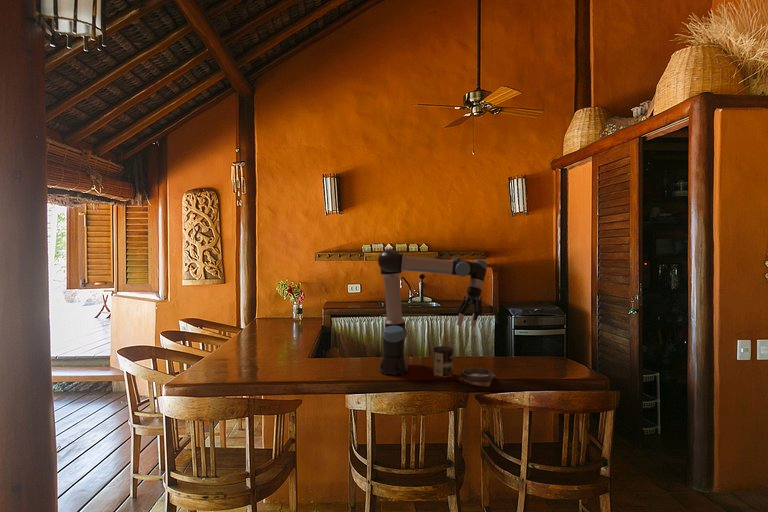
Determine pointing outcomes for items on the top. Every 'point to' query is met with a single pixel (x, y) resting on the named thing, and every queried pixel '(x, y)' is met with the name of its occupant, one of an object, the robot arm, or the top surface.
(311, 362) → the top surface
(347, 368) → the top surface
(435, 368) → the coffee can
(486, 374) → the collar board
